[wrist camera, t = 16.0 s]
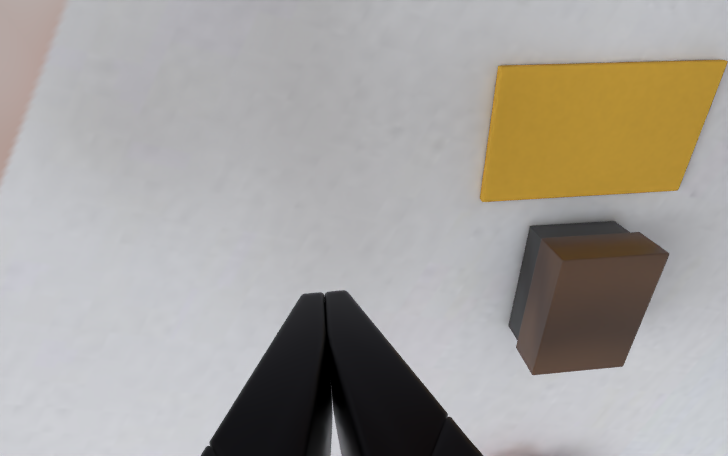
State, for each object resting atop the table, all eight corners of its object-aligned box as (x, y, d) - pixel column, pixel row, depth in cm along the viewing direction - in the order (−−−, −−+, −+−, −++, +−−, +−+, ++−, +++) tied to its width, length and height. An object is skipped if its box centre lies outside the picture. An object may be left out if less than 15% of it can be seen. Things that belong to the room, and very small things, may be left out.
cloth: (479, 198, 20) (482, 202, 20) (497, 65, 17) (501, 66, 17) (672, 187, 21) (678, 190, 21) (720, 59, 18) (728, 60, 18)
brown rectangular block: (526, 222, 21) (563, 260, 18) (619, 217, 22) (670, 253, 19) (504, 328, 24) (532, 375, 21) (585, 321, 25) (623, 367, 22)
